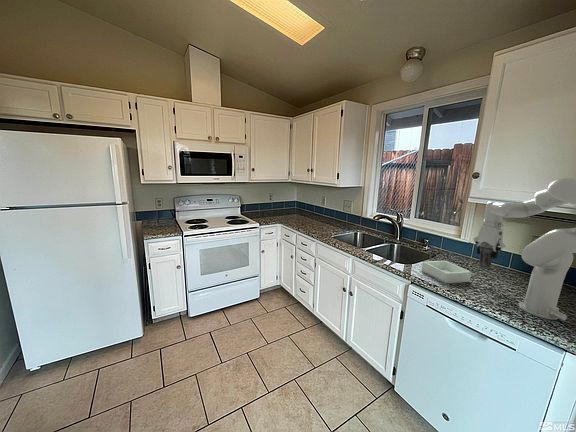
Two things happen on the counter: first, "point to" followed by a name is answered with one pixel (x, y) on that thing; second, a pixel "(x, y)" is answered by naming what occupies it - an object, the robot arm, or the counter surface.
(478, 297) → the counter surface
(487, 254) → the beverage cup
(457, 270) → the bin
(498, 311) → the counter surface
